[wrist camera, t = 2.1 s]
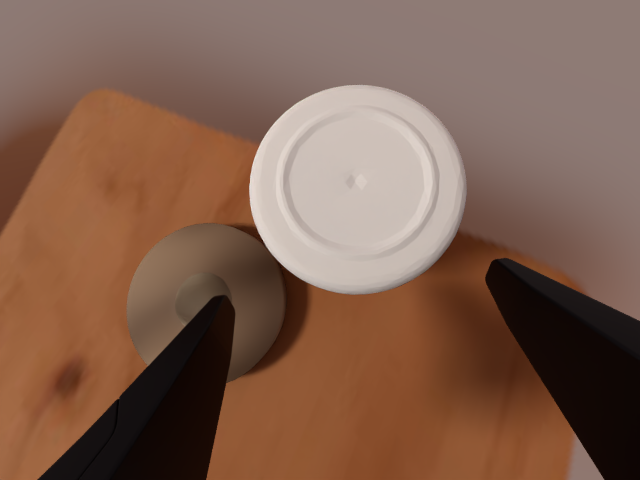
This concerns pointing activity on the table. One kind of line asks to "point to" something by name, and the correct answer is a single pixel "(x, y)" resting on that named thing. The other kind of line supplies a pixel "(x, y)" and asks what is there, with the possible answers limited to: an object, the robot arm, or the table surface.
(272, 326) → the grey-brown round disc
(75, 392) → the table surface
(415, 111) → the sprinkles bottle
